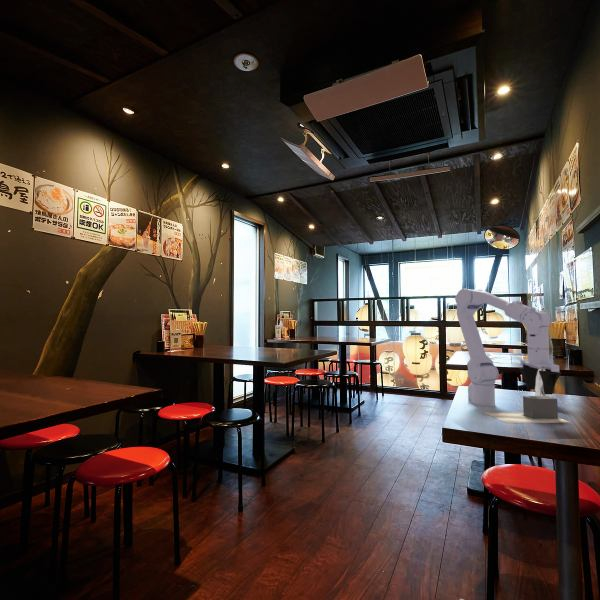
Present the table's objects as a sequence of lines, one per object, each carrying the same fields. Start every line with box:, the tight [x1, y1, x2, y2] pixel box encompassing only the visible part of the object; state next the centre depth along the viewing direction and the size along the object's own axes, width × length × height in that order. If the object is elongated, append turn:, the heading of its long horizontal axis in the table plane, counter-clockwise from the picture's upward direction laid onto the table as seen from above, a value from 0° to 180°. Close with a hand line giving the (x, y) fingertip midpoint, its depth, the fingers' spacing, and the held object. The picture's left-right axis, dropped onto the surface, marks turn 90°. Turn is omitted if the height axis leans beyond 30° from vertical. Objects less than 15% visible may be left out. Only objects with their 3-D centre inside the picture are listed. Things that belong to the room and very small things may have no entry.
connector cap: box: [522, 395, 559, 419], centre depth 113 cm, size 4×8×6 cm, turn 93°
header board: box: [485, 411, 570, 424], centre depth 112 cm, size 12×20×4 cm, turn 93°
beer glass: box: [534, 366, 553, 397], centre depth 139 cm, size 7×7×15 cm
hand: (539, 391), depth 113 cm, fingers open, 7 cm apart
